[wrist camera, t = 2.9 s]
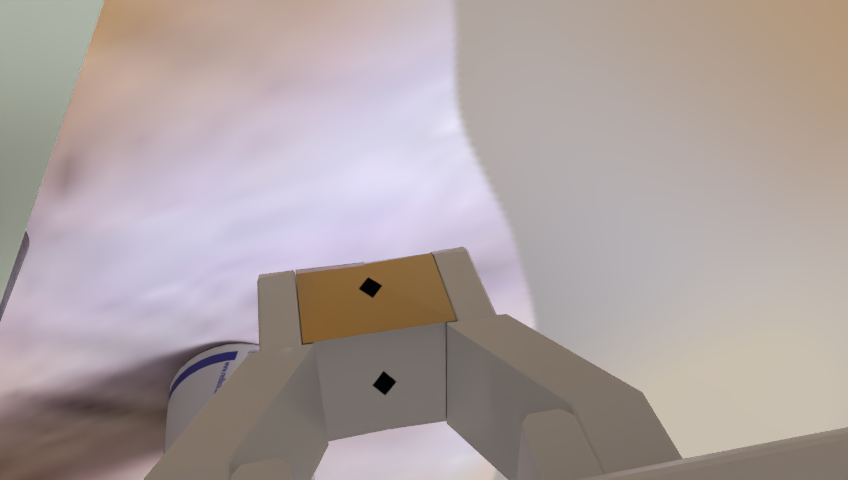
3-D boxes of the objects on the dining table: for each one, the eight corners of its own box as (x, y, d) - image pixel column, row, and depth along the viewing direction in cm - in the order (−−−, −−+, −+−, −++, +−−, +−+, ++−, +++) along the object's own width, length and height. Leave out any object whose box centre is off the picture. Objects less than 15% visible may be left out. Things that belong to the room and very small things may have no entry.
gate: (33, 221, 23) (-11, 331, 19) (-30, 203, 23) (-90, 313, 18) (181, -205, 18) (167, -186, 14) (105, -248, 17) (65, -243, 13)
